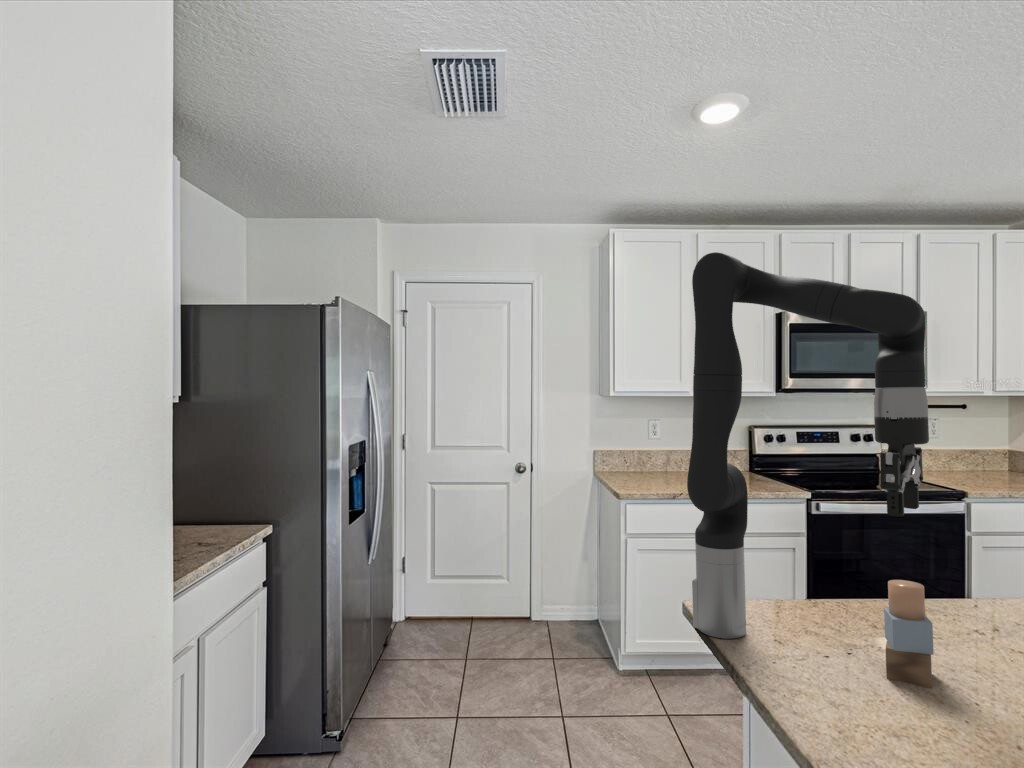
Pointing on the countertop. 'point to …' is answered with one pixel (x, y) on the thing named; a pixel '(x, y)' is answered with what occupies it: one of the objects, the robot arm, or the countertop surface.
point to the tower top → (909, 634)
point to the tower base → (908, 667)
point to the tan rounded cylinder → (906, 599)
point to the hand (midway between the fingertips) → (903, 512)
